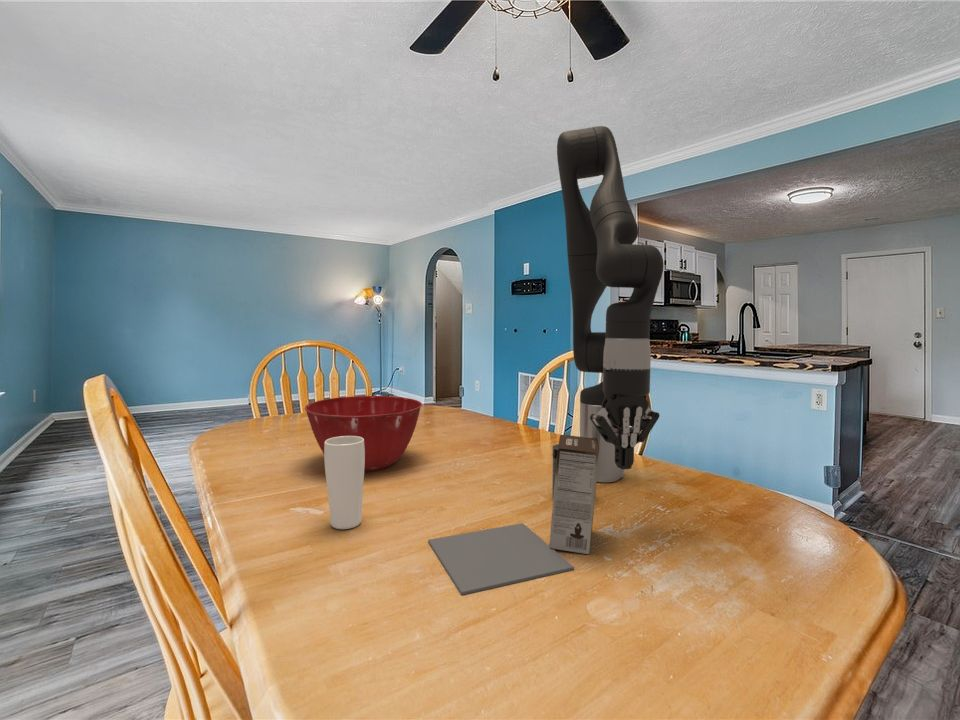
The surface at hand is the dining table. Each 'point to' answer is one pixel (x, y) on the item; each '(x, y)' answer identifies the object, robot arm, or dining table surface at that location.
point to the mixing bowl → (367, 424)
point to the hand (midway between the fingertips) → (623, 467)
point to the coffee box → (574, 493)
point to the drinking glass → (345, 479)
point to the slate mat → (496, 557)
